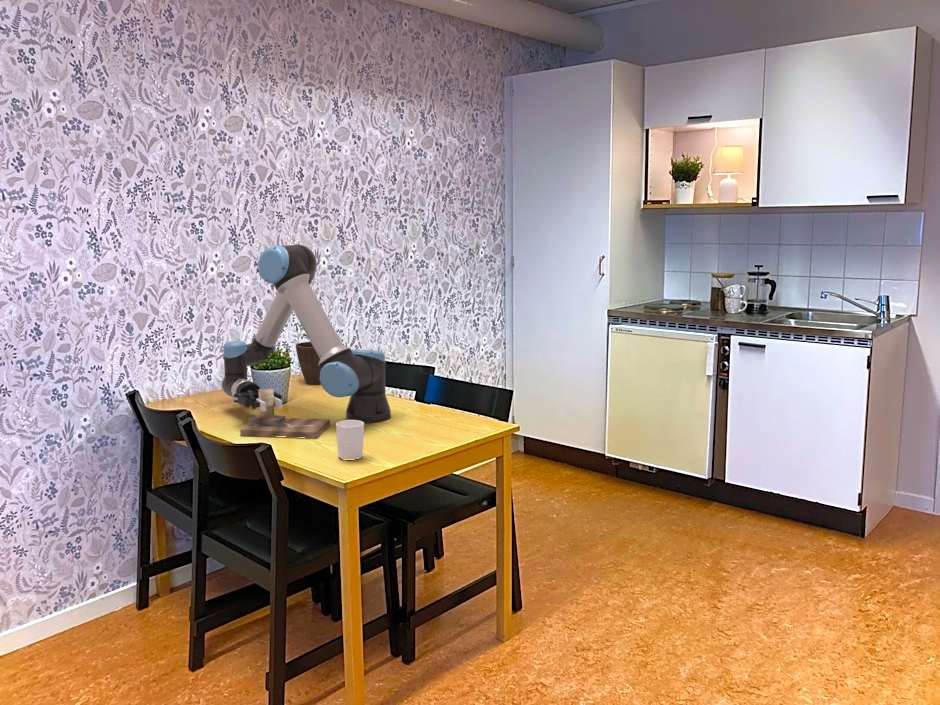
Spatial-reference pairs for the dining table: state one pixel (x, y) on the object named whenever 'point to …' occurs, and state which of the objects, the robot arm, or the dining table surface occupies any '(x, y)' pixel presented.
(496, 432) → the dining table surface
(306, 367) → the plant pot
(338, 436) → the white cup
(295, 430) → the walnut board
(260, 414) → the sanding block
